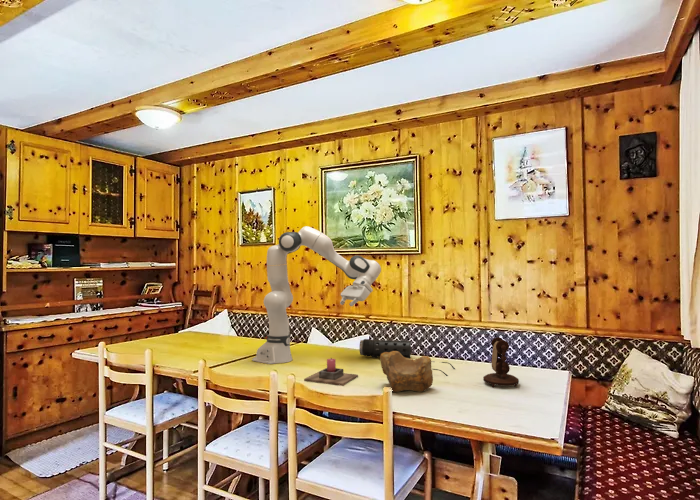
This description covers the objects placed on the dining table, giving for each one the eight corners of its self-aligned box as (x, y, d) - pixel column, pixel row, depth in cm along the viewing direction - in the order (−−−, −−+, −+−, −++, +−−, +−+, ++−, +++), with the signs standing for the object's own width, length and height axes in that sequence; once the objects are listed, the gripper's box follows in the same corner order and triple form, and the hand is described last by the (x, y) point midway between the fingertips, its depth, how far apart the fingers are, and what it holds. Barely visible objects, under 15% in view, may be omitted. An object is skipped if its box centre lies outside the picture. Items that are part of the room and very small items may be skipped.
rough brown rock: (370, 393, 185) (370, 358, 184) (383, 380, 200) (383, 347, 199) (425, 402, 176) (424, 365, 175) (434, 387, 191) (434, 353, 190)
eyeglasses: (420, 365, 230) (420, 356, 230) (456, 369, 221) (456, 359, 221) (409, 373, 216) (409, 362, 216) (447, 377, 207) (447, 366, 207)
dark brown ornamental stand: (479, 379, 201) (478, 335, 201) (512, 379, 201) (511, 335, 201) (488, 389, 186) (487, 342, 187) (524, 389, 186) (523, 341, 186)
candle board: (304, 380, 203) (304, 372, 203) (321, 372, 217) (320, 364, 217) (343, 385, 194) (343, 376, 194) (358, 376, 208) (357, 368, 209)
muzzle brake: (409, 361, 240) (409, 342, 240) (359, 359, 245) (359, 340, 246) (410, 357, 249) (410, 338, 249) (362, 355, 255) (362, 337, 255)
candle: (325, 377, 205) (325, 358, 205) (329, 375, 208) (329, 356, 208) (333, 378, 203) (333, 359, 203) (337, 376, 206) (337, 357, 207)
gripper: (347, 281, 249) (332, 299, 243) (367, 282, 231) (352, 302, 226) (354, 288, 251) (339, 306, 245) (374, 290, 233) (359, 310, 228)
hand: (345, 304), depth 235 cm, fingers open, 8 cm apart
